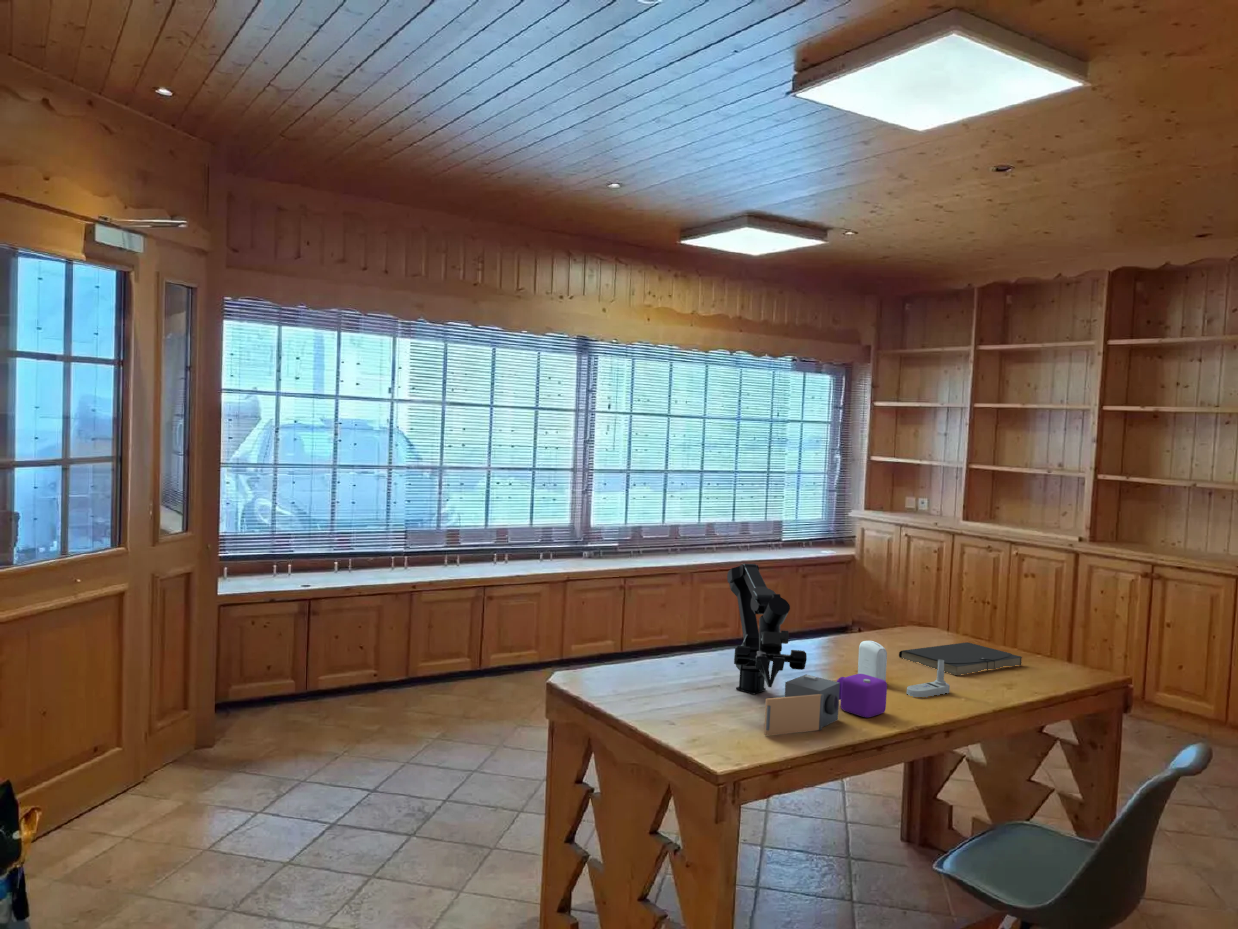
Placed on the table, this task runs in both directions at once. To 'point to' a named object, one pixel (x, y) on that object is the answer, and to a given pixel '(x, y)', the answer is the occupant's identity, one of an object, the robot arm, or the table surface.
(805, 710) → the side door
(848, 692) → the toy camera
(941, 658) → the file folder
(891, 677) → the table surface
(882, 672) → the photo printer
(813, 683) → the camera case
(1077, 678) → the table surface
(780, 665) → the robot arm
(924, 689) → the electronic device
